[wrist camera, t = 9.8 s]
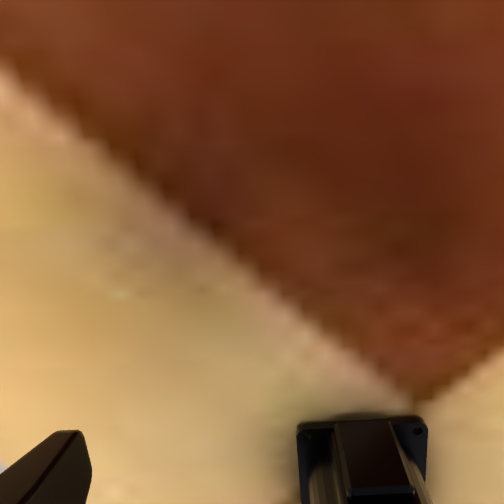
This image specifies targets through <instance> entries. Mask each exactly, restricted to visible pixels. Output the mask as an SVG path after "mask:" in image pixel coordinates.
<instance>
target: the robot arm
mask: <svg viewBox="0 0 504 504" xmlns="http://www.w3.org/2000/svg"><path fill="white" fill-rule="evenodd" d="M415 427H419V428H418V429H414V428H415ZM305 433H308V434H309V435H303V434H305ZM296 438H297V452H298V465H299V478H300V491H301V504H433V503H432V500H431V498H430V495H429V493H428V490H427V488H426V485H425V475H426V457H427V438H428V428H427V426H426V423H425V421H424V420H423V419H421V418H418V417H411V418H394V419H377V420H360V421H344V422H327V423H310V424H302V425H300V426H298V428H297V429H296ZM91 479H92V466H91V462H90V458H89V454H88V450H87V446H86V442H85V438H84V435H83V433H82V432H81V431H79V430H60V431H56V432H54V433H53V434H51V435H50V436H49V437H47V438H46V439H45V440H44V441H42V442H41V443H40V444H38V445H37V446H36V447H35V448H33V449H32V450H31V451H29V452H28V453H27V454H25V455H24V456H23V457H22V458H20V459H19V460H18V461H16V462H15V463H14V464H13V465H11V466H10V467H9V468H7V469H6V470H5V471H4V472H2V473H1V474H0V504H86V500H87V496H88V492H89V488H90V484H91Z"/></svg>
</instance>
